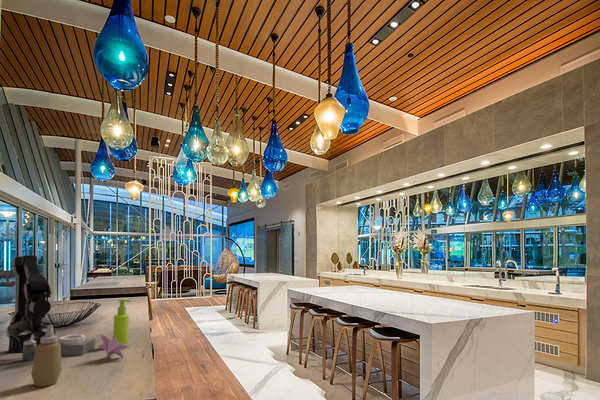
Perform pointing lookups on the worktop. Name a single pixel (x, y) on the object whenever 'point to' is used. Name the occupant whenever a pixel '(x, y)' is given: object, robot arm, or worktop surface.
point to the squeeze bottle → (47, 360)
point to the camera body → (76, 345)
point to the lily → (112, 346)
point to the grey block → (29, 350)
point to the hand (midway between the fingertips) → (30, 354)
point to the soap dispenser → (121, 323)
